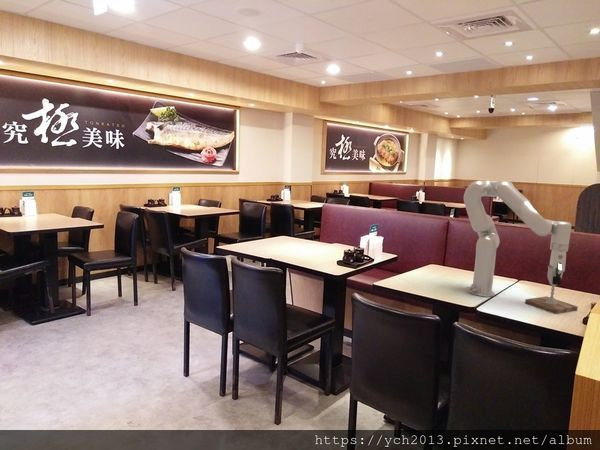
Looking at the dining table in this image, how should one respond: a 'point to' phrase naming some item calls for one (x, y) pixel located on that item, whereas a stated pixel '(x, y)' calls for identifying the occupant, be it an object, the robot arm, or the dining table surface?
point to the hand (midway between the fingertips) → (554, 282)
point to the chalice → (550, 277)
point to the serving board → (551, 305)
